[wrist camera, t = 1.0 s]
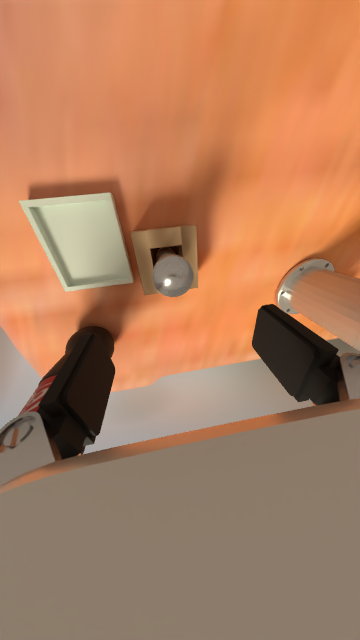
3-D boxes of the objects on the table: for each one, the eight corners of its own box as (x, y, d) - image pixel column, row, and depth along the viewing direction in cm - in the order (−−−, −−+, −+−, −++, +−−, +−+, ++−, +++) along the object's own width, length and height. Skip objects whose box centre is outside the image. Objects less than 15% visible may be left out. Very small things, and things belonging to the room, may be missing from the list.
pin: (177, 240, 27) (192, 253, 17) (179, 268, 29) (194, 293, 19) (150, 244, 27) (149, 259, 16) (154, 271, 29) (156, 299, 19)
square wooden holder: (189, 224, 26) (196, 225, 22) (191, 278, 31) (198, 287, 27) (133, 230, 25) (130, 232, 21) (145, 284, 30) (144, 295, 26)
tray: (112, 194, 23) (110, 192, 21) (134, 279, 29) (133, 282, 28) (27, 202, 22) (18, 200, 20) (70, 287, 28) (65, 291, 27)
